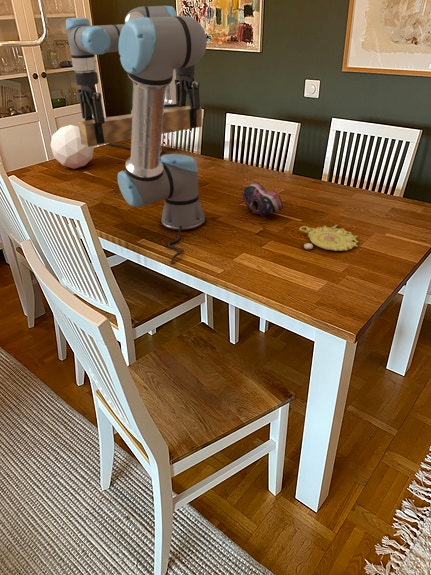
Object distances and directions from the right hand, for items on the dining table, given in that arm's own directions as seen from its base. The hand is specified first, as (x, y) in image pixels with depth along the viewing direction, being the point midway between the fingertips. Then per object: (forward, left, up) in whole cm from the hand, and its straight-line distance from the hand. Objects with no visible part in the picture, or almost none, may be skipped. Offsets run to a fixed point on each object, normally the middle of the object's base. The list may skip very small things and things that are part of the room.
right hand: (96, 141), depth 161 cm
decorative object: (-49, -72, -24) cm, 90 cm away
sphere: (+51, +17, -24) cm, 58 cm away
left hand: (+21, -36, -1) cm, 42 cm away
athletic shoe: (-21, -56, -24) cm, 64 cm away
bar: (+10, -18, -1) cm, 21 cm away
